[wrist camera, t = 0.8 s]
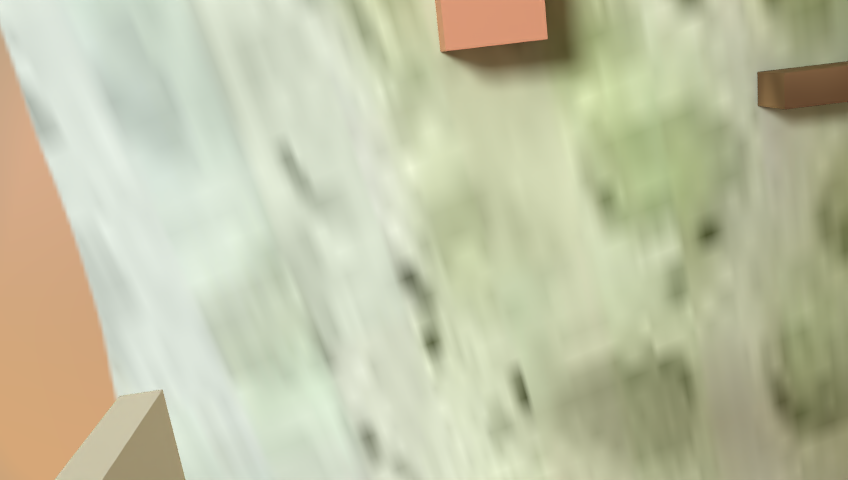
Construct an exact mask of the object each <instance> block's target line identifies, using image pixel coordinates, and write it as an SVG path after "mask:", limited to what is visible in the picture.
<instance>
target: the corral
mask: <svg viewBox="0 0 848 480" xmlns="http://www.w3.org/2000/svg"><path fill="white" fill-rule="evenodd" d="M757 75H758V106H763V107H771V108H778V109H792V108H800V107H808V106H817V105H825V104H833V103H842V102H848V61H846V62H838V63H829V64H821V65H813V66H804V67H796V68H787V69H779V70H771V71H762V72H757Z"/></svg>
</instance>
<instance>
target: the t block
mask: <svg viewBox="0 0 848 480" xmlns="http://www.w3.org/2000/svg"><path fill="white" fill-rule="evenodd" d="M435 4H436V13H437V23H438V32H439V41H440V51H441V52H443V51H452V50H460V49H469V48H477V47H485V46H494V45H502V44H511V43H519V42H528V41H536V40H544V39H548V36H547V23H546V10H545V0H435Z"/></svg>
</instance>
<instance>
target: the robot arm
mask: <svg viewBox="0 0 848 480" xmlns="http://www.w3.org/2000/svg"><path fill="white" fill-rule="evenodd" d="M55 480H185V476H184V472H183V469H182V465H181V461H180V457H179V453H178V449H177V445H176V441H175V437H174V433H173V429H172V425H171V421H170V417H169V413H168V409H167V405H166V402H165V398H164V394H163V390H156V391H150V392H143V393H136V394H130V395H123V396H119V397H118V399H117V400H116V401H115V403H114V404H113V405H112V406H111V408H110V409H109V411H108V412H107V413H106V414H105V416H104V417H103V418H102V419H101V421H100V422H99V423H98V425H97V426H96V427H95V429H94V430H93V431H92V432H91V434H90V435H89V436H88V437H87V439H86V440H85V441H84V443H83V444H82V445H81V446H80V448H79V449H78V450H77V452H76V453H75V454H74V455H73V457H72V458H71V459H70V461H69V462H68V463H67V465H66V466H65V467H64V469H63V470H62V471H61V472H60V474H59V475H58V476H57V477H56V479H55Z"/></svg>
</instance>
